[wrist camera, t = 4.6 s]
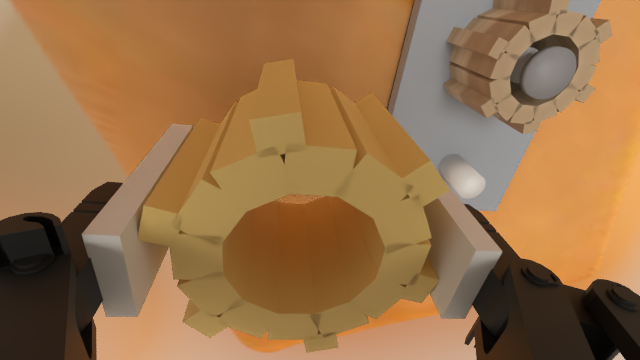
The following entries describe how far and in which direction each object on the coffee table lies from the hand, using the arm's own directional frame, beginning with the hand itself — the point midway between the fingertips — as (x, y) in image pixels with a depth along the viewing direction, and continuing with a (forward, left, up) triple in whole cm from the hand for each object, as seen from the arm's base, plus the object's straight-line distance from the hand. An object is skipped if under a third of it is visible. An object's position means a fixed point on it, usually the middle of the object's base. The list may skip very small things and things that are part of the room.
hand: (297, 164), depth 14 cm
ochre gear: (0, 0, 0) cm, 0 cm away
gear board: (+1, +16, -15) cm, 22 cm away
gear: (-4, +16, -14) cm, 21 cm away
